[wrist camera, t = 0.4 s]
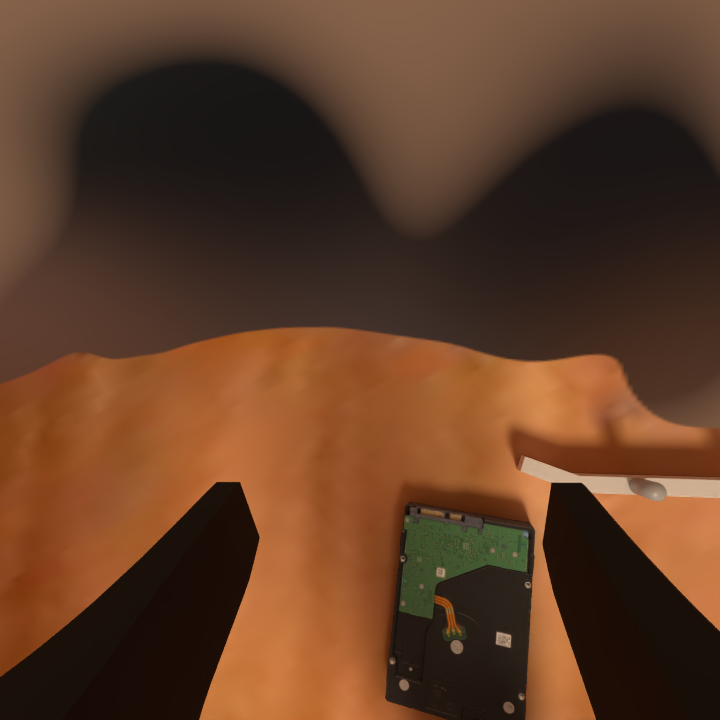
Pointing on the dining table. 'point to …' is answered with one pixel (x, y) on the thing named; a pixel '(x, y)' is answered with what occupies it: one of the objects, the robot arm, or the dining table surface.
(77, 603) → the dining table surface
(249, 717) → the dining table surface
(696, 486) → the drive tray
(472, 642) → the disk drive
